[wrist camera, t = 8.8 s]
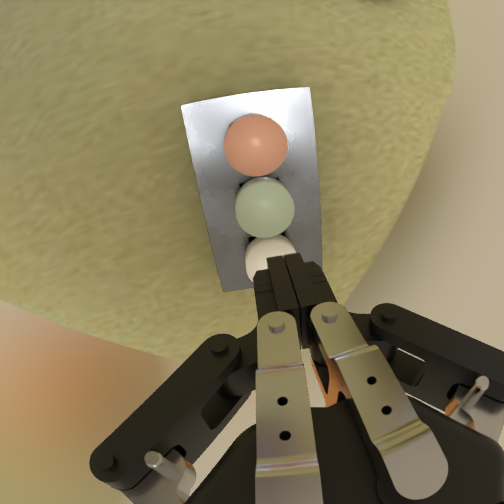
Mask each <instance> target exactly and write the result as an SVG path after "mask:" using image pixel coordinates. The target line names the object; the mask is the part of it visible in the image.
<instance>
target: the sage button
mask: <svg viewBox="0 0 504 504" xmlns="http://www.w3.org/2000/svg"><path fill="white" fill-rule="evenodd" d="M235 209H236V218H237V221H238V223H239V225H240V226H241V228H242V229H243V230H244V231H245V232H247V233H248V234H250V235H252V236H255V237H259V238H269V237H273V236H276V235H278V234H280V233H282V232H283V231H284V230H286V229H287V227H288V226H289V225H290V223H291V222H292V220H293V217H294V212H295V207H294V202H293V199H292V197H291V195H290V194H289V192H288V190H287V189H286V187H285V186H284V185H283V184H282V183H281V182H279V181H278V180H276V179H274V178H270V177H257V178H254V179H251V180H249V181H248V182H246V183H245V184H244V185H243V186H242V187H241V188H240V190H239V191H238V193H237V196H236V200H235Z"/></svg>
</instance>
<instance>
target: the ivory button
mask: <svg viewBox="0 0 504 504" xmlns="http://www.w3.org/2000/svg"><path fill="white" fill-rule="evenodd" d="M291 253H296V251H295V249H294V246H293V244H292V243H291V241H290V240H289V239H287V238H286V237H284V236H282V235H280V234H278V235H276V236H273V237H269V238H259V237H255V239H254V240H253V241H252V242H251V243H250V244H249V245H248V247H247V249H246V252H245V263H246V272H247V275H248V277H249V278H250V280H251V281H252V282H253V277H254V275H255V273H256V271H258V270H264V269H268V268H267V260H266V258H268V257H274V256H280V255H282V256H283V255H285V254H291Z"/></svg>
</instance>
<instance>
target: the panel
mask: <svg viewBox="0 0 504 504" xmlns="http://www.w3.org/2000/svg"><path fill="white" fill-rule="evenodd" d="M181 108H182V113H183V119H184V124H185V129H186V134H187V139H188V143H189V148H190V153H191V158H192V163H193V167H194V172H195V177H196V181H197V186H198V190H199V195H200V199H201V203H202V208H203V212H204V216H205V221H206V225H207V229H208V233H209V238H210V242H211V246H212V250H213V254H214V258H215V262H216V266H217V270H218V274H219V278H220V282H221V286H222V290H223V292H228V291H234V290H241V289H247V288H253V287H254V284H253V282H252V281H251V280H250V278H249V277H248V275H247V272H246V263H245V252H246V249H247V247H248V245H249V244H250V243H249V238H248V237H253V236H252V235H250V234H248V233H247V232H245V231H244V230H243V229H242V228H241V226H240V225H239V223H238V221H237V218H236V209H235V200H236V196H237V193H238V191H239V190H240V185H239V183H245V182H248V181H249V180H251V179H254V178H257V177H270V178H276V180H278V181H279V182H281V183H282V184H283V185H284V186H285V187H286V189H287V190H288V192H289V194H290V195H291V197H292V199H293V202H294V207H295V212H294V217H293V220H292V222H291V223H290V225H289V226H288V227H287V229H286V230H284V231H283V232H282V236H284V237H286V238H287V239H289V240H290V241H291V243H292V244H293V246H294V249H295V251H296V253H297V252H300V254H301V256H302V259H303V261H304V263H305V262H310V261H313V262H315V263H316V264H317V265H319V266H320V267H321V269H322V234H321V210H320V192H319V176H318V163H317V151H316V140H315V130H314V120H313V111H312V102H311V94H310V87H302V88H289V89H278V90H268V91H260V92H252V93H245V94H238V95H232V96H226V97H220V98H214V99H209V100H204V101H199V102H194V103H190V104H185V105H181ZM249 114H260V115H264V116H266V117H268V118H270V119H272V120H274V121H276V122H277V123H278V124H279V125H280V126H281V127H282V129H283V130H284V132H285V134H286V137H287V141H288V150H287V154H286V157H285V159H284V161H283V162H282V164H281V165H280V166H279V167H278V168H277V169H276V170H275V171H273V172H271V173H269V174H267V175H264V176H257V177H255V176H247V175H244V174H242V173H240V172H238V171H237V170H235V169H234V168H233V167H232V166H231V165H230V164H229V162H228V160H227V158H226V156H225V152H224V139H225V135H226V132H227V130H228V128H229V124H231V123H233V122H234V121H235V120H237V119H238V118H240V117H242V116H245V115H249Z"/></svg>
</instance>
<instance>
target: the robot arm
mask: <svg viewBox="0 0 504 504" xmlns="http://www.w3.org/2000/svg"><path fill="white" fill-rule="evenodd" d="M266 260H267V268H268V269H264V270H258V271H256V273H255V275H254V277H253V284H254V291H255V298H256V306H257V313H258V323H257V326H256V327H255V328H254V330H253V331H251V332H250V333H249V334H247V335H245V336H243V337H240V338H238V339H236V338H235V337H234V336H232V335H229V334H217V335H214V336H211V337H209V338H208V339H207V340H205V341H204V342H203V343H202V344H201V345H200V346H199V347H198V348H197V350H196V351H195V352H194V353H193V354H192V355H191V356H190V357H189V358H188V359H187V360H186V361H185V362H184V363H183V364H182V365H181V366H180V367H179V368H178V369H177V370H176V371H175V372H174V373H173V374H172V375H171V376H170V377H169V378H168V379H167V380H166V381H165V382H164V383H163V384H162V385H161V386H160V387H159V388H158V389H157V390H156V391H155V392H154V393H153V394H152V395H151V396H150V397H149V398H148V399H147V400H146V401H145V402H144V403H143V404H142V405H141V406H140V407H139V408H138V409H137V410H135V411H134V412H133V413H132V414H131V415H130V416H129V417H128V418H127V419H126V420H125V421H124V422H123V423H122V424H121V425H120V426H119V427H118V428H117V429H116V430H115V431H114V432H113V433H112V434H111V435H110V436H108V438H106V439H105V440H104V441H103V442H102V443H101V444H100V445H99V446H98V447H97V448H96V449H95V450H94V451H93V453H92V455H91V457H90V462H89V463H90V469H91V471H92V473H93V475H94V476H95V477H96V478H97V479H99V480H100V481H102V482H104V483H106V484H108V485H110V486H111V487H112V488H114V489H116V490H118V491H120V492H122V493H124V494H125V495H126V496H127V497H128V498H129V499H130V500H131V501H132V502H133V503H134V504H504V451H503V449H502V447H501V446H500V445H499V444H498V443H497V442H498V439H499V436H500V433H501V431H502V428H503V425H504V352H503V351H501V350H499V349H496V348H494V347H492V346H490V345H487V344H485V343H482V342H480V341H478V340H476V339H473V338H471V337H469V336H467V335H464V334H462V333H460V332H458V331H455V330H453V329H451V328H448V327H446V326H444V325H441V324H439V323H437V322H434V321H432V320H430V319H428V318H425V317H423V316H420V315H418V314H416V313H414V312H411V311H409V310H407V309H404V308H402V307H400V306H397V305H395V304H390V303H384V304H379V305H377V306H376V307H374V308H373V309H372V311H371V314H355V313H351V312H348V311H347V309H346V308H345V307H344V306H343V305H341V304H339V303H338V302H337V300H336V298H335V296H334V294H333V292H332V290H331V287H330V285H329V283H328V281H327V279H326V277H325V275H324V273H323V271H322V269H321V267H320V266H319V265H317V264H316V263H315V262H313V261H310V262H305V263H304V261H303V259H302V256H301V254H300V252H297V253H291V254H285V255H283V256H282V255H280V256H274V257H268V258H266ZM301 345H302V348H303V349H306V348H309V349H310V353H311V364H312V367H313V370H314V372H315V375H316V378H317V380H318V383H319V385H320V388H321V391H322V393H323V396H324V399H325V403H326V407H324V408H322V407H321V408H319V407H315V408H314V407H310V401H309V394H308V388H307V381H306V374H305V368H304V364H303V363H302V357H301V351H300V350H301ZM398 348H400V349H402V350H404V351H406V352H408V353H411V354H413V355H415V356H417V357H419V358H421V359H423V360H424V361H425V362H423V361H421V360H419V359H417V358H415V357H413V356H411V355H409V354H407V353H405V352H403V351H400V350H398ZM253 390H256V424H254V425H252V426H251V427H249V428H248V429H246V430H245V431H244V432H243V433H241V435H239V436H238V437H237V438H236V440H235V441H234V442H233V443H232V445H231V446H230V447H229V449H228V450H227V451H226V453H225V454H224V455H223V457H222V458H221V459H220V460H219V462H218V463H217V464H216V465H215V467H214V468H213V469H212V471H211V472H210V473H209V474H208V475H207V477H206V478H205V479H204V480H203V482H202V483H201V484H200V486H198V488H197V489H196V490H195V491H194V492H193V493H192V495H191V496H190V497H189V492H190V490H191V488H192V486H193V485H194V483H195V481H196V471H195V469H194V467H193V465H192V464H193V463H194V462H195V461H196V460H197V459H198V458H199V457H200V455H201V454H202V453H203V452H204V451H205V450H206V449H207V448H208V446H209V445H210V444H211V443H212V442H213V441H214V439H215V438H216V437H217V436H218V434H219V433H220V432H221V431H222V430H223V429H224V427H225V426H226V425H227V424H228V423H229V421H230V420H231V419H232V418H233V416H234V415H235V414H236V413H237V411H238V410H239V409H240V407H241V406H242V405H243V404H244V402H245V401H246V400H247V399H248V397H249V395H250V394H251V391H253ZM405 392H406V393H408V394H410V395H412V396H414V397H416V398H418V399H420V400H422V401H424V402H426V403H428V404H430V405H432V406H434V407H436V408H438V409H441V410H442V411H444V412H445V414H446V415H445V414H443V413H441V412H439V411H437V410H435V409H433V408H431V407H430V406H428V405H426V404H424V403H422V402H420V401H418V400H417V399H415V398H413V397H410V396H408V395H406V394H405Z"/></svg>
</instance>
